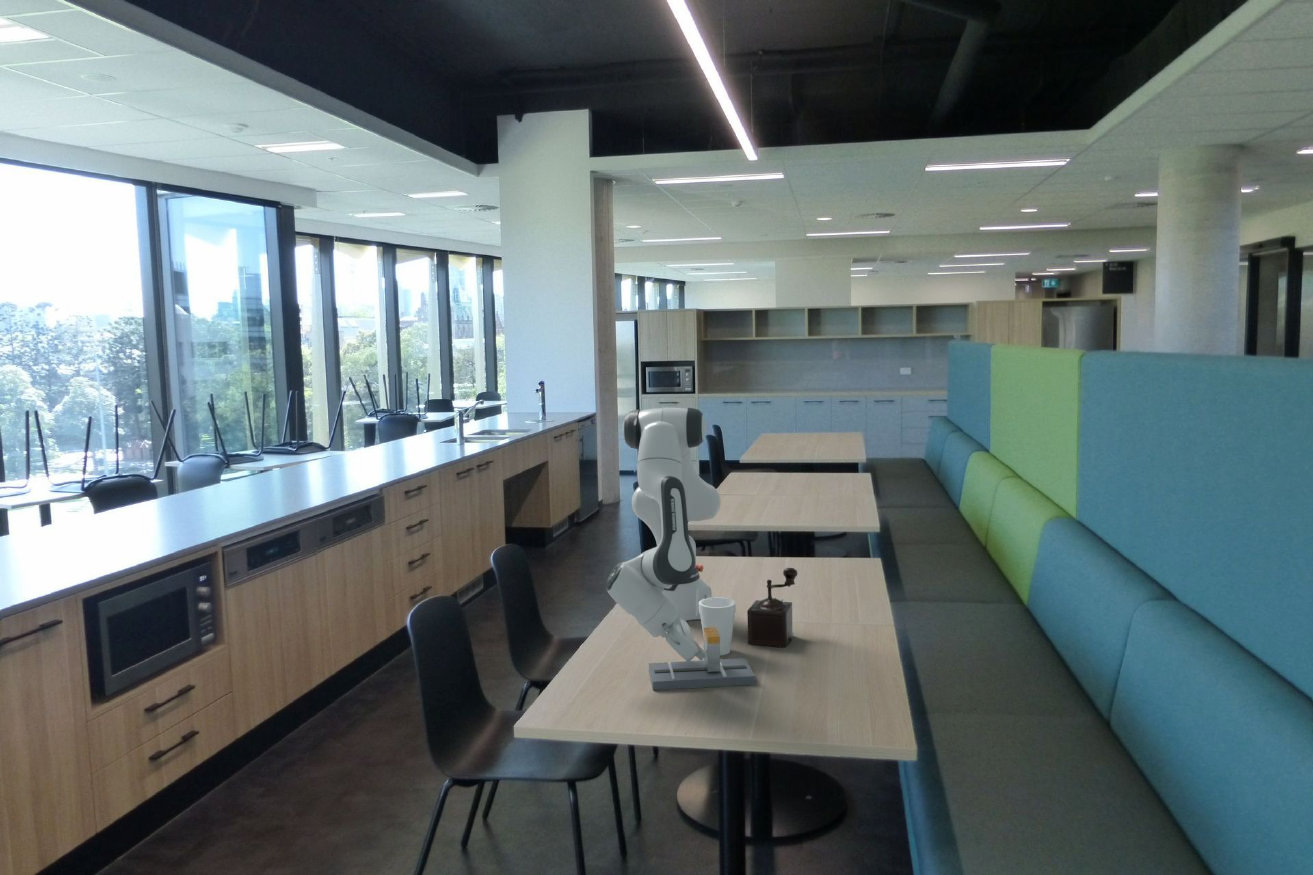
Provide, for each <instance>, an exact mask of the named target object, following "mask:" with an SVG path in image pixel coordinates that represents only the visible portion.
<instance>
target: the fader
mask: <svg viewBox="0 0 1313 875" xmlns="http://www.w3.org/2000/svg"><path fill="white" fill-rule="evenodd" d="M703 634H704V637H703V650H704V653H705V655H706V656H705V657H704V658H703V660H704V663H705V666H706V669H707V671H708V672H714V671H720V659H721V655H720V635H719V633H718V631H717V629H716V627H709V628H703V630H702V635H703Z"/></svg>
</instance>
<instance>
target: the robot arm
mask: <svg viewBox="0 0 1313 875" xmlns="http://www.w3.org/2000/svg"><path fill="white" fill-rule="evenodd" d="M621 428H622V436H623V439H624V440H625V444H626V445H627V446H628V447H629V448H631V449H636V450H638V451H637V463H636V464H637V467H636V476H637V483H638V486H637V487H636V489H635V490H634V492H633V494H632V497H631V509H632V511H633V512H634V514H635V516H636V517H637V518H638V519H640V520H641V521H643V522H644V523H645V525H646V526H648V528H649V529H650V531H651V533H652V534H653V536H654V538H655V541H656V546H655V547H652V548H650V549H648V550H645V551H643V552H642V553H640V554H639V555H638V556H636V557H633V558H631V559H629V560H626V561H622V562H621V561H620V562H618V563H617V564H616V565H615V566H614V567H613V569H612V570H611V571H610V572H609V574H608V576H607V578H606V582H605V583H606V584H605V589H606V591H607V593H608V594H609V596H610V597H611V598H612V599H613V600H614V602H615V603H616V604H617V605H618V606H619V607H621V609H622V610H624V611H625V612H626V613H627V614H628V615H631V616H632V617H634V618H635V619H636V621H637V623H638V624H639V625H640V626H641V627H642V628H643V629H644V630H646V631H647V632H648V633H649V634H650V635H651V636H652V637H653V638H658V637H661V638H662V639H663V638H664V639H665V641H666V642H667V644H669V646H670V647H671V648H672V649H673V650H674V651H675V652H676V653H677V654H678V655H679V656H680V657H681V658H683V659H684V660H685V661H688V662H689V661H693V659H694V657H696V658H697V659H699V661H702V660H704V657H705V656H706V655H705V653H704V648H702V647H701V646H700V645H699V643H697V642H696V640H695V638H694V636H693V633H692V631H691V628H690V625H689V624H688V622H687V621H693V620H701V616H700V613H699V601H701V600H702V599H706V598H713V597H712V596H713V594H712V588H711V586H710V585H709V584H707V583H706V582H705V581H704V580H703V579H702V578H701V577H700V573H702V572H704V565H703V564H697V548H696V547H697V546H696V542H695V540H694V539H693V537H692V536H691V535H689V534H690V533H689V524H688V522H703V521H706V520H711V519H714V518H715V517H716V516H717V514H719V513H718V512H719V511H720V508H721V496H720V493H719V491H718V490H717V489H716V488H715V486H713V485H712V484H709V483H707V482H706V481H705V480H704V479H702V478H701V476H699V474H698V472H696V470H695V467H694V463H693V460H692V450H691V448H695V447H700V445H701V444H703V443H704V440H705V437H706V434H707V421H706V419H705V417H704V414H703V412H702V411H701V410H700V409H698V408H694V407H687V408H686V407H685V408H684V407H665V406H664V407H660V408H659V407H656V408H655V407H654V408H649V409H647V408H646V409H634V410H631V411H628V413H627V414H626V415H625V416H624V419H623V423H622V427H621Z"/></svg>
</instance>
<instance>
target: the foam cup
mask: <svg viewBox="0 0 1313 875" xmlns="http://www.w3.org/2000/svg"><path fill="white" fill-rule="evenodd" d="M736 610H737V607H736V601H735V600H734V599H731V598H727V597H720V596H719V597H718V596H717V597H716V596H715V597H712V598H706V599H702V600H701V601H699V613H700V616H701V619H700V620H701V621H700V623H701V627H702V631H703V628H709V627H716V629H717V631H718V633H719V635H720V656H725V655H728V654H730V652H731V646H732V641H733V640H732V638H733V630H734V622H735V614H736ZM702 635H703V638H704V634H703V633H702Z"/></svg>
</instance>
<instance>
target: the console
mask: <svg viewBox="0 0 1313 875" xmlns="http://www.w3.org/2000/svg"><path fill="white" fill-rule="evenodd" d="M648 674H649V677H650V684H651V688H652V691H662V690H675V689H676V690H679V689H694V688H695V689H696V688H699V689H700V688H714V687H715V688H716V687H733V686H747V685H748V686H749V685H756V676H755V674H754V672H753V670H752V668H751V666H750V664H749V663H748V660H747V659H746V657H744V658H743V657H741V658H726V659H724V658H723V659H722V658H720V671H714V672H708V671H707V669H706V666H705V663H704V659H703V660H691V661H689V662H688V661H686V660H685V661H683V660H682V661H666V662H651V663H650V662H648Z"/></svg>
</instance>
